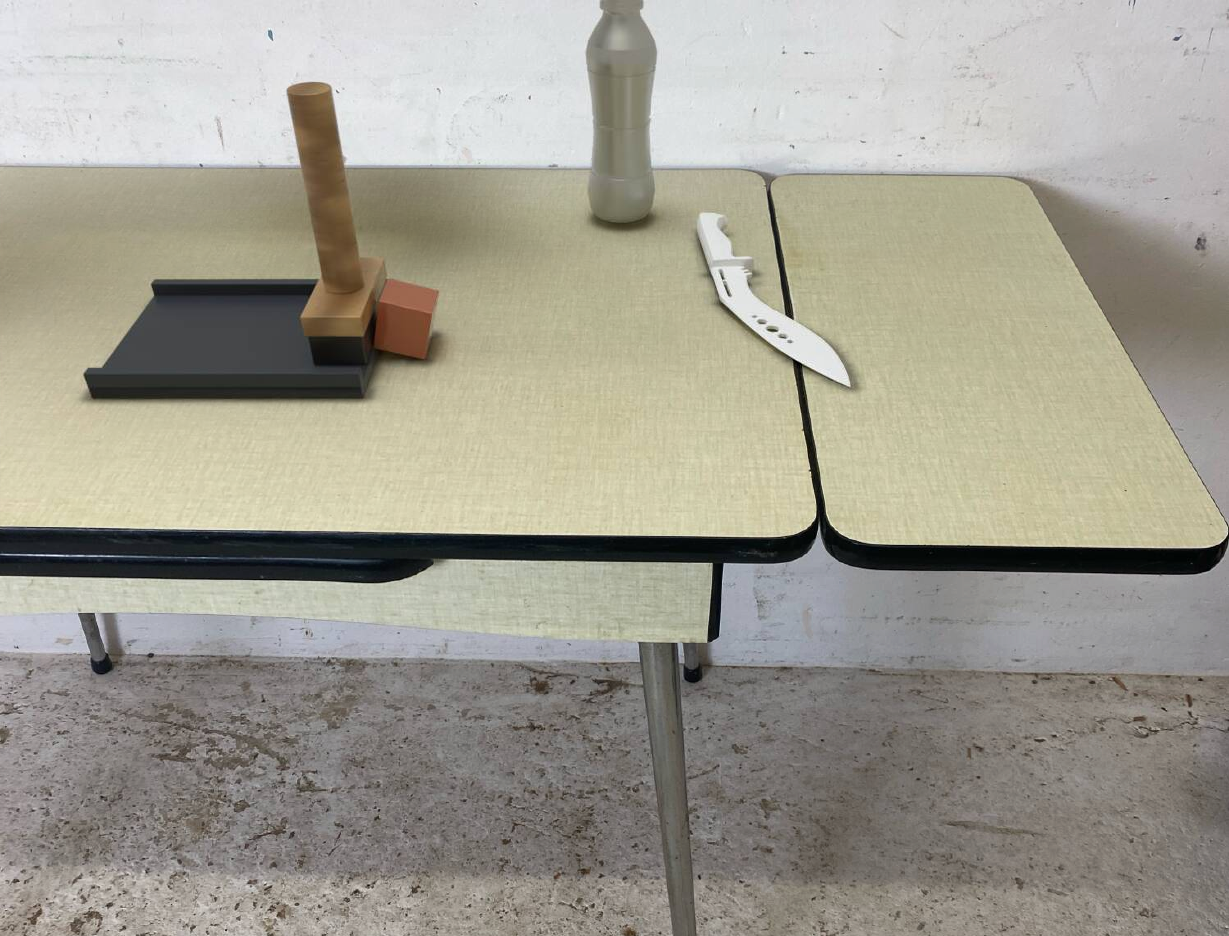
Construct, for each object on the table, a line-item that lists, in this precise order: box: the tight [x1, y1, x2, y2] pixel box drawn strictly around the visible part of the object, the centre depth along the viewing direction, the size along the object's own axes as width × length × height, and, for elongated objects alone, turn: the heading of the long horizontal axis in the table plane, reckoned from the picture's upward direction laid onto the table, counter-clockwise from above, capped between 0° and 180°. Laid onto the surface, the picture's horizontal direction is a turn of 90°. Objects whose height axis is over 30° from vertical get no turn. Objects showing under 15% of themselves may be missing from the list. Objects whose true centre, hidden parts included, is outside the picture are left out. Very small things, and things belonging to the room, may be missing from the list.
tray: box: [82, 278, 395, 399], centre depth 84 cm, size 20×16×2 cm
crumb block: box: [373, 277, 440, 360], centre depth 83 cm, size 4×4×4 cm
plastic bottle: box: [585, 0, 658, 224], centre depth 98 cm, size 6×7×20 cm
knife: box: [695, 212, 851, 388], centre depth 90 cm, size 30×2×8 cm
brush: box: [285, 81, 388, 365], centre depth 78 cm, size 4×10×18 cm, turn 0°
